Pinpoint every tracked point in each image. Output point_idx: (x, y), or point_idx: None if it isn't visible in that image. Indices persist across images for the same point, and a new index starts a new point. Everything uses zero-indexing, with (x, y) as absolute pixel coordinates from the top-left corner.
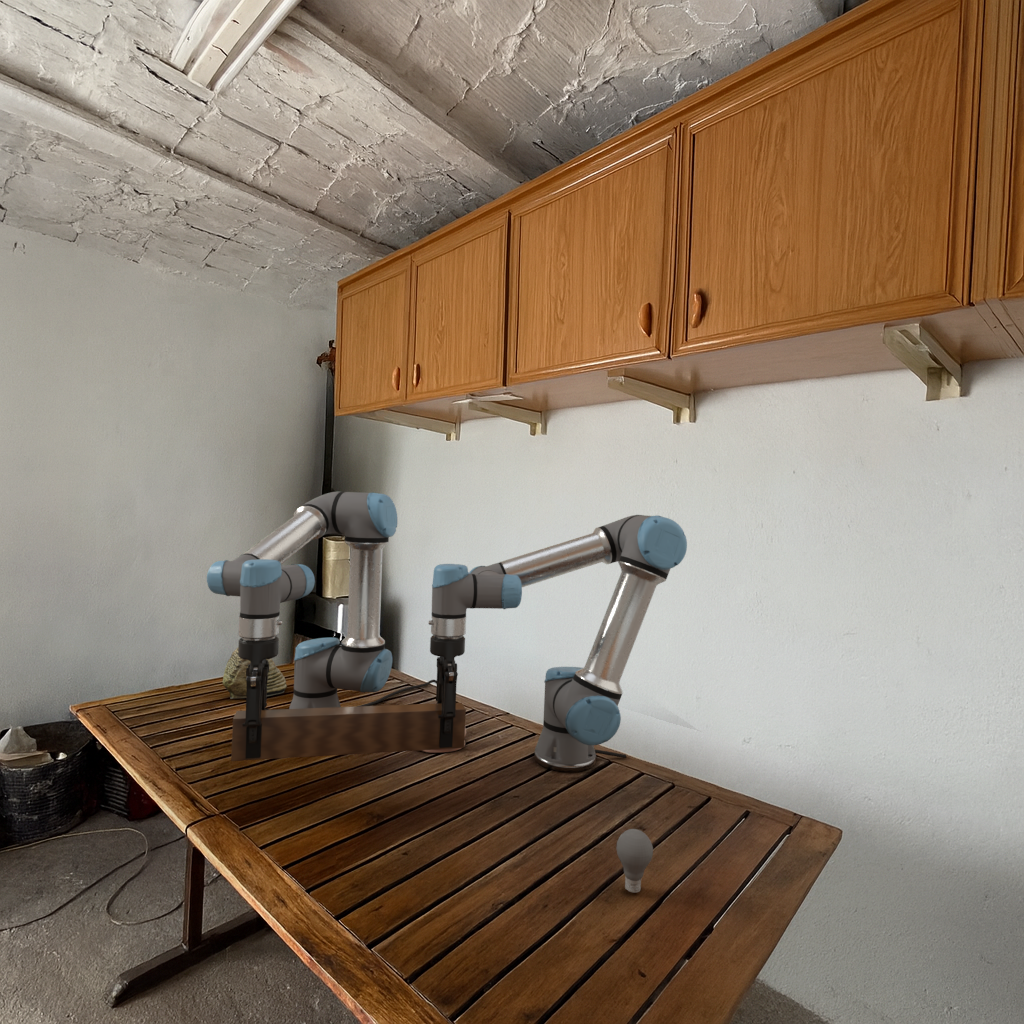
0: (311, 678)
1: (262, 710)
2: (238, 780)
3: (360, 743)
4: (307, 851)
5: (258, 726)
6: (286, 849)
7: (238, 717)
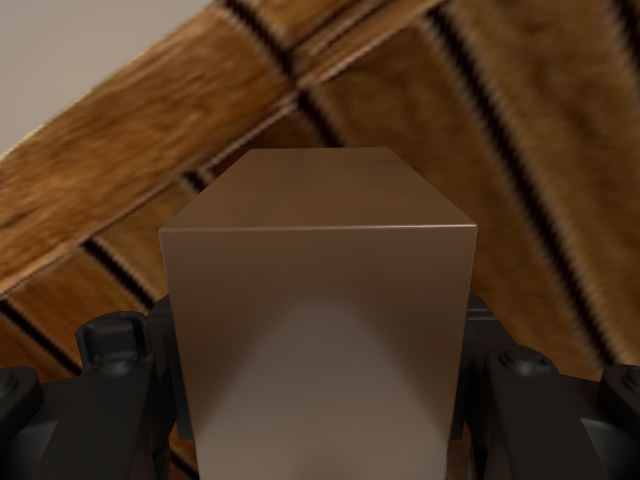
0: None
1: (426, 473)
2: (548, 111)
3: None
4: (73, 346)
5: (178, 413)
6: (81, 301)
7: (210, 284)
